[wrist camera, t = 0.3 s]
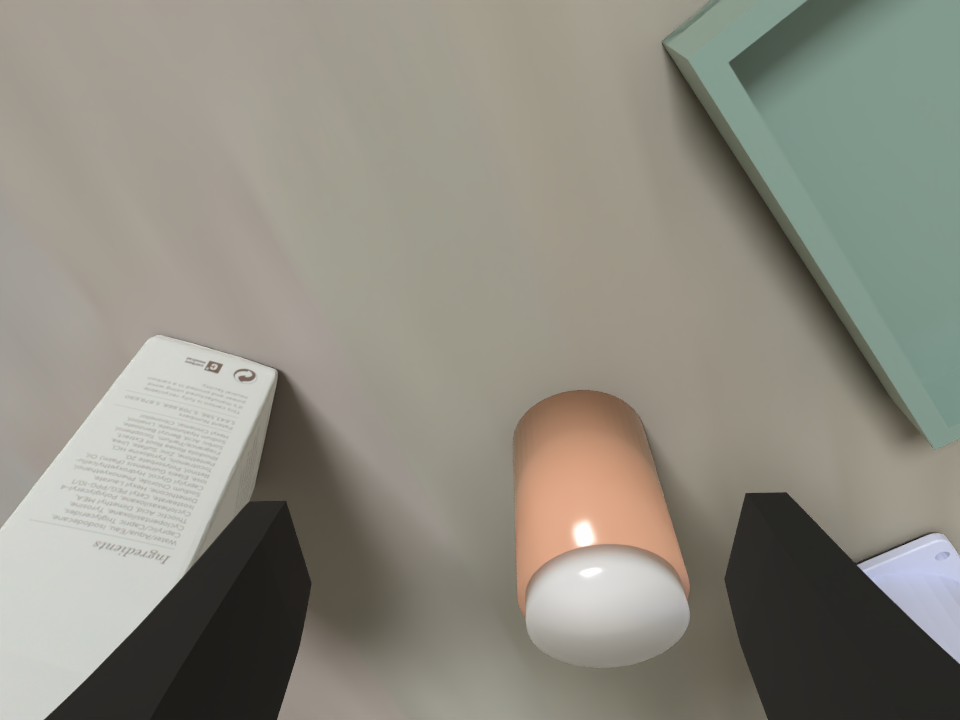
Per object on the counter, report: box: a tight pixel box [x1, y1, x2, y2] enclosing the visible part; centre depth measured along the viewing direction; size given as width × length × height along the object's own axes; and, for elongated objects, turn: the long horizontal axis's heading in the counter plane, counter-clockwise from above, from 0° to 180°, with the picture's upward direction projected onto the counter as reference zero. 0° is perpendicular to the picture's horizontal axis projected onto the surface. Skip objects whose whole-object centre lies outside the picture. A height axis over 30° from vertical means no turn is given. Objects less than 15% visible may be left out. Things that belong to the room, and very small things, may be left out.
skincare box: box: [0, 335, 278, 720], centre depth 17 cm, size 6×4×12 cm
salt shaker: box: [513, 390, 690, 668], centre depth 19 cm, size 5×5×7 cm
